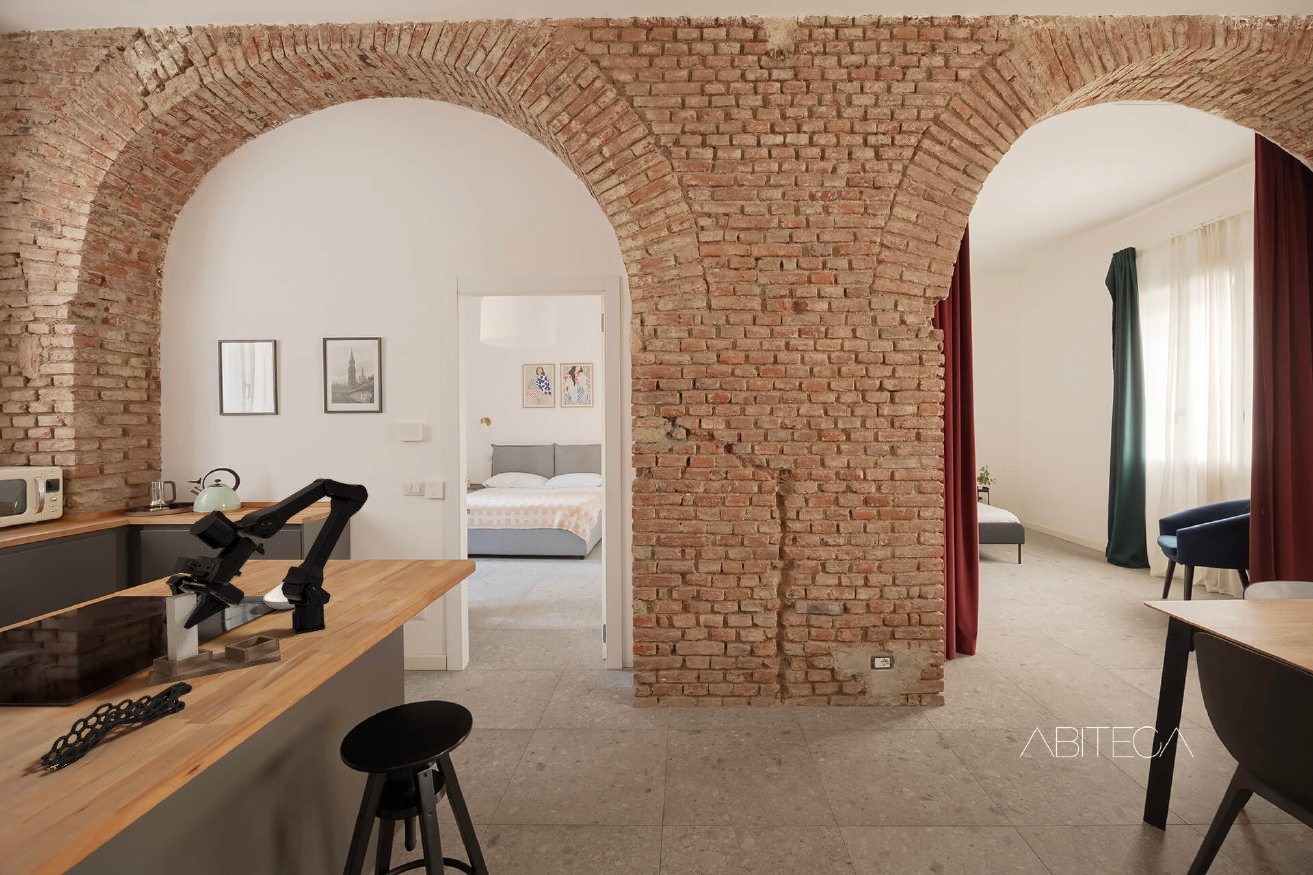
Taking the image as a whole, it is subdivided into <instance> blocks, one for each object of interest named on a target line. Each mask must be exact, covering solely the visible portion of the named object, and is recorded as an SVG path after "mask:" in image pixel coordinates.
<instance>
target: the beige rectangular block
mask: <svg viewBox="0 0 1313 875" xmlns="http://www.w3.org/2000/svg"><path fill="white" fill-rule="evenodd" d="M196 599H197V598H196V594H194V593H183V594H179V595H175V596H172V595H170V596H168V597H167V596H166V598H165V600H166V601H165V604H166V607H165V608H166V612H167V625H166V627H167V628H166V632H167V655H168V661H172V662H176V661H179V660H182V659H185V658H188V657H192V656H195V655H198V648H199V639H198V638H199V636H198V635H199V634H198V624H197V625H195V626H194V627H192V628H190V629H186V628H184V625H185V623H186V621H187V620H188V618H189V617H190V616H191V614H192V613H193V611H194V610H195V608H196V607H197V606H198V604H197V603H198V602H196Z"/></svg>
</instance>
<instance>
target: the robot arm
mask: <svg viewBox="0 0 1313 875" xmlns="http://www.w3.org/2000/svg"><path fill="white" fill-rule="evenodd" d="M325 497H326V498H329V499H330V512H329V514H328V516H327V518H326V519H325V522H324V523H323V525H322V527H321V529H320V530H319V532H318V535H317V536H316V538H315V540H314V542H313V544H312V545H311V547H310V549H309V551H308V552H307V554H306V557H305V559H304V560H303V562H302V563H300V564H299V565H298V566H293V565H292V566H290V567H289V568H288V571H287V573H286V575H285V576H284V578H283V579H282V580H281V583H282V582H284V583H283V585H282V588H281V590H282V592H283V595H284V597H286V598H287V600H288V602H289V604H294V608H293V609H294V610H292V611H291V626H292V630H294V632H295V634H301V633H308V632H312V631H319V630H324V629H326V623H325V605H326V604H329V603H330V600H331V595H332V594H331V593H329V592H328V591H327V590H326V589H324V588H323V584H324V580H325V579H324V578H325V577H324V569H325V566H326V564H327V563H328V561H329V559H330V557H331V555H332V553H333V551H334V549H335V548H336V545H337V543H338V541H339V540H340V537H341V536H342V534H343V532H344V530H345V528H346V526H347V524H348V522H349V520H350V519H351V518H352V517H353V516H354V515H356V514H357V513H358V512H359V511H361V509H362V508H363V506H364V505H365V503H367V501H368V498H369V493H368V490H367V488H366V487H365V485H363V484H356V483H355V484H354V483H345V482H340V481H337V480H334V479H332V478H320V477H319V478H316V479H315V480H314V481H312V482H311V483H310V484H308V485H306V486H305V487H303V488H301V489H299V490H297V491H296V492H294V493H292V494H291V495H289V496H288V497H286V498H284V499H282V500H281V501H279V502H277V503H276V504H273V505H270V506H267V507H264V508H262V507H261V508H259V509H256V510H253V511H251V512H248V513H246V514H244V516H242V517H241V518H240V519H237V520H234V521H232V520H231V519H230V518H229V517H227V516H226V514H225V513H223V512H222V511H221V510H218V509H217V510H216V509H215V510H214V509H213V510H212V511H211V512H210V513H209V514H207V515H204V516H203V517H201V518H200V519H199V520H196V521H195V522H194V523H193V524H192V526H191V527H190V528H189V534H190V535H191V536H193V537H194V538H195V539H197V540H198V541H199V542H201V543H202V544H204V545H205V546H207V547H208V548H209V549H211V550H218V549H219V551H218V552H217V554H215V556H214V557H211V556H207V555H199V556H197V558H196V559H195V558H191V557H184V556H177V558H176V560H175V562H174V564H173V566H172V568H171V572H172V573H177V574H173V575H171V576H170V577H169V578H168V579H167V581H165V584H166V585H167V586H168V588H169V591H171V596H175V595H179V594H183V593H194V594H196V602H197V603H198V604H197V607H196V608H195V610H194V611H193V613H192V614H191V616H190V617H189V618H188V620H187V621H186V623H185V625H184V628H186V629H190V628H192V627H194V626H195V625H197V626H198V624H201V623H202V622H204V621H205V620H207V619H209V618H211V617H213V616H214V615H216V614H219V613H220V612H222V611H223V610H226V609H230V608H231V606H235V607H239V606H240V605H241V603H242V602H243V601H244V599H245V592H244V591H243V590H241V589H240V588H239V587H237V586H236V585H234V584H233V583H231V581H232V580H233V579H234V578H235V577H237V578H239V577H241V575H242V574H243V572H242V571H241V569H242V568H243V567H244V566H245V564H246V563H247V562H248V561H249V559H250V558H251V557H252V556H253V555H258V556H265V555H266V553H265V549H264V543H263V542H256V541H254V540H253V539H263V540H268V539H270V538H272V537H274V536H275V535H276V534H277V533H279V532H280V531H281V530H282V529H283V528H284V527H285V525H286V524H287V522H288V521H289V520H290V519H291V518H293V517H294V516H296V515H297V514H299V513H301V512H302V511H304V510H306V509H307V508H309V507H310V506H312V505H314V504H315V503H317V502H319V501H320V500H322V499H323V498H325ZM240 534H242V535H243V536H242V535H240ZM251 538H253V539H251ZM179 573H180V574H179ZM198 597H200V599H199V600H200V601H199V600H198V599H197V598H198ZM162 624H163V625H165V626H167V611H166V612H165V615H164V616H163V619H162Z"/></svg>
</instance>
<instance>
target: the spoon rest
mask: <svg viewBox="0 0 1313 875" xmlns="http://www.w3.org/2000/svg"><path fill="white" fill-rule="evenodd" d="M283 583H284V582H282V581H281V583H280V584H278V585H277V586H275V587H274V588H273V589H271V590H270V591H269V592H267V593H266V594H265V595H264V596H263V597H262V600H263V602H264V604H265V605H266V606H268V607H269V608H271V609H275V610H280V611H281V610H282V611H283V610H284V611H285V610H291V609H294V604H289V602H288V600H287V598H286V597H284V595H283V592H282V590H281V588H282V585H283Z"/></svg>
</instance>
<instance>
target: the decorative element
mask: <svg viewBox="0 0 1313 875" xmlns="http://www.w3.org/2000/svg"><path fill="white" fill-rule="evenodd" d="M192 690H193V685H191V684H188V683H186V682H185V681H180V682H178V683H174V684H171V685H170V686H168V687H167V688H165V689H163V690H162V691H160V692H159V693H157V694H156V695H154V696H153V697H151V695H143V696H141V697H140V698H139V699H137V700H136V701H134V702H133V699H131V698H125V699H124V700H122V701H119V703H118V704H116V705H113V703H112V702H107V703H106V702H105V703H102V704H100V705H99V706H97V707H96V708H95V709H94V710H93V711H92V712H91V714H89V715H88V716H86V717H82V718H79V719H77V720H76V721H75V722H74V723H73V724H72V726H71V729H70V731H69V732H68V733H67V734H66V735H61V736H60V737H59V736H58V738H57V739H55V741H54V742H53V744H52V746H51V748H50V750H49V751H48V752H47V753H44V754H43V755H42V756H41V757H40V760H42V762H41V764H40V766H41V767H45V766H46V765H48V766H47V767H46V768H50V767H51V766H54V765H55V764H59V765H58V766H56V768H60V769H62V768H61V767H62V766H64V765H65V764H68V763H70V762H72V761H73V762H75V761H77V760H78V759H80V757H82V756H83V755H84V754H86V753H88V752H90V751H91V750H92V749H93V748H95V747H96V746H97V745H98V744H99V742H101V741H102V739H104V738H105V737H106V736H107V735H108V734H109V733H110V732H112V730H114V728H116V727H117V726H120V725H129V724H135V723H140V722H147V721H150V720H154V719H157V718H161V717H164V716H165V715H168V714H170V713H172V712H173V713H179V712H181V711H183V710H185V707H186V702H185V701H183V700H179V698H181V697H182V696H186V695H187V694H189V693H190V692H191V691H192ZM145 699H146V700H145ZM144 700H145V702H143V701H144ZM124 704H127V705H126V706H125V707H124V708H122V709H121V707H122V706H123V705H124ZM106 707H108V708H107V709H106V710H105V711H104V712H102V713H99V712H100V711H101V710H102V709H104V708H106ZM123 715H124V716H123ZM122 716H123V717H122ZM103 717H104V718H103ZM93 718H95V722H93V723H91V724H89V721H90V720H91V719H93ZM102 718H103V720H102ZM81 723H82V726H81V727H80V728H79V729H78V730H77V727H78V726H79V725H80V724H81ZM98 725H99V726H100V727H97V726H98ZM96 727H97V728H96ZM88 729H90V730H89V731H88V732H87V733H86V734H85V735H84V737H83V735H82V734H83V732H85V731H86V730H88ZM74 735H76V739H75V740H74V741H73V742H72V743H71V742H69V739H70V738H71V737H72V736H74ZM91 738H92V739H91ZM61 741H62V744H61V745H60V746H59V748H58V745H59V743H60V742H61ZM79 743H80V744H79ZM78 744H79V745H78ZM66 748H67V749H66ZM63 751H64V752H63ZM62 752H63V753H62ZM54 753H55V757H54V758H52V759H50V758H51V757H52V755H53V754H54ZM73 762H72V763H73ZM70 764H71V763H70Z"/></svg>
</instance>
